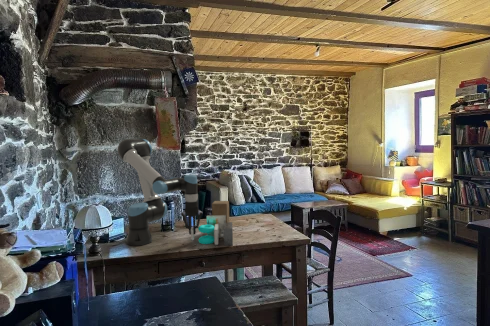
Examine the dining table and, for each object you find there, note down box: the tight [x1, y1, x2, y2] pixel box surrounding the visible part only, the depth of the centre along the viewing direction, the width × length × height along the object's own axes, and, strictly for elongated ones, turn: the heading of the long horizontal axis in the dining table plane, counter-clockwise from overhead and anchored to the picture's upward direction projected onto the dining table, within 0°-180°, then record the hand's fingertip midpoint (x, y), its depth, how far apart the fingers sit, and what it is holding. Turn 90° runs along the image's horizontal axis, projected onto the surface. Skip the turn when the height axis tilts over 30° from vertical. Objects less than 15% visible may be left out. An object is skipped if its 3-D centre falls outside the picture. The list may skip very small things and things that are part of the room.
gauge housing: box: [206, 215, 234, 247], centre depth 210 cm, size 16×18×14 cm
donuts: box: [197, 224, 215, 245], centre depth 208 cm, size 10×10×10 cm
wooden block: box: [211, 200, 230, 222], centre depth 231 cm, size 10×10×20 cm
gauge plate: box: [214, 219, 220, 246], centre depth 209 cm, size 2×15×12 cm, turn 2°
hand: (192, 239), depth 208 cm, fingers closed
